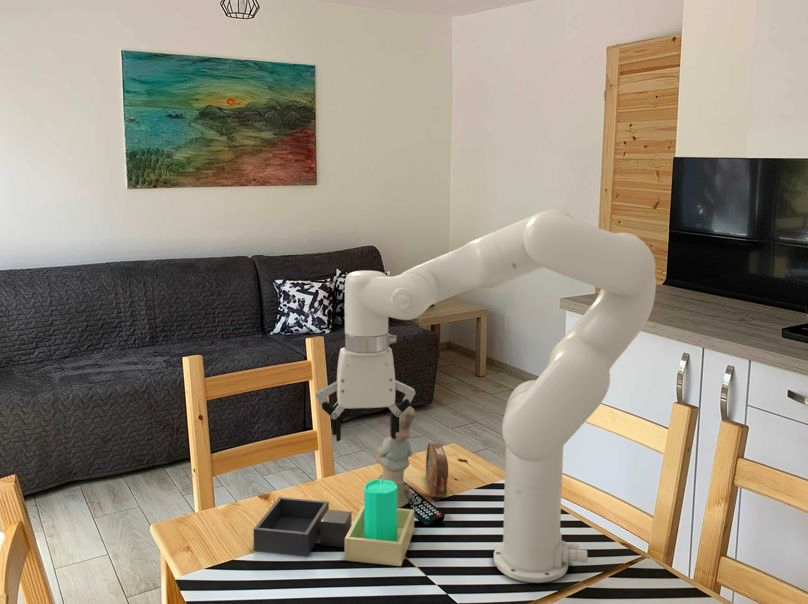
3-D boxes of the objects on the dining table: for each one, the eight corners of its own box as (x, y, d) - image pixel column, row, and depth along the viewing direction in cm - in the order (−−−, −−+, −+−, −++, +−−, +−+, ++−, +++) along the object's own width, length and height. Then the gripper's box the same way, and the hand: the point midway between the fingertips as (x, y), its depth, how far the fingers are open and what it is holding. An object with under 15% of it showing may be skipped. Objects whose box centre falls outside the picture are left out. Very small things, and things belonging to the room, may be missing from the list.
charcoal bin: (328, 521, 135) (328, 501, 135) (307, 556, 123) (307, 534, 123) (279, 516, 137) (279, 496, 136) (253, 550, 125) (253, 529, 124)
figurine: (420, 506, 142) (421, 409, 139) (380, 513, 138) (380, 414, 136) (403, 487, 150) (404, 395, 147) (365, 494, 147) (365, 400, 144)
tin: (424, 473, 157) (425, 436, 156) (439, 472, 157) (439, 436, 156) (433, 505, 142) (434, 465, 141) (449, 504, 142) (450, 464, 141)
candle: (393, 552, 124) (393, 486, 122) (359, 548, 125) (359, 483, 123) (400, 535, 130) (401, 472, 128) (369, 531, 131) (368, 469, 129)
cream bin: (414, 529, 132) (414, 509, 132) (401, 566, 120) (401, 544, 120) (362, 524, 134) (362, 504, 134) (344, 560, 122) (344, 538, 122)
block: (351, 534, 130) (351, 511, 130) (344, 547, 126) (344, 523, 126) (328, 532, 131) (327, 509, 131) (320, 545, 127) (320, 521, 126)
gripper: (412, 336, 128) (411, 427, 130) (315, 338, 126) (316, 431, 128) (418, 346, 121) (417, 443, 123) (315, 349, 118) (316, 447, 120)
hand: (365, 437), depth 125 cm, fingers open, 9 cm apart
